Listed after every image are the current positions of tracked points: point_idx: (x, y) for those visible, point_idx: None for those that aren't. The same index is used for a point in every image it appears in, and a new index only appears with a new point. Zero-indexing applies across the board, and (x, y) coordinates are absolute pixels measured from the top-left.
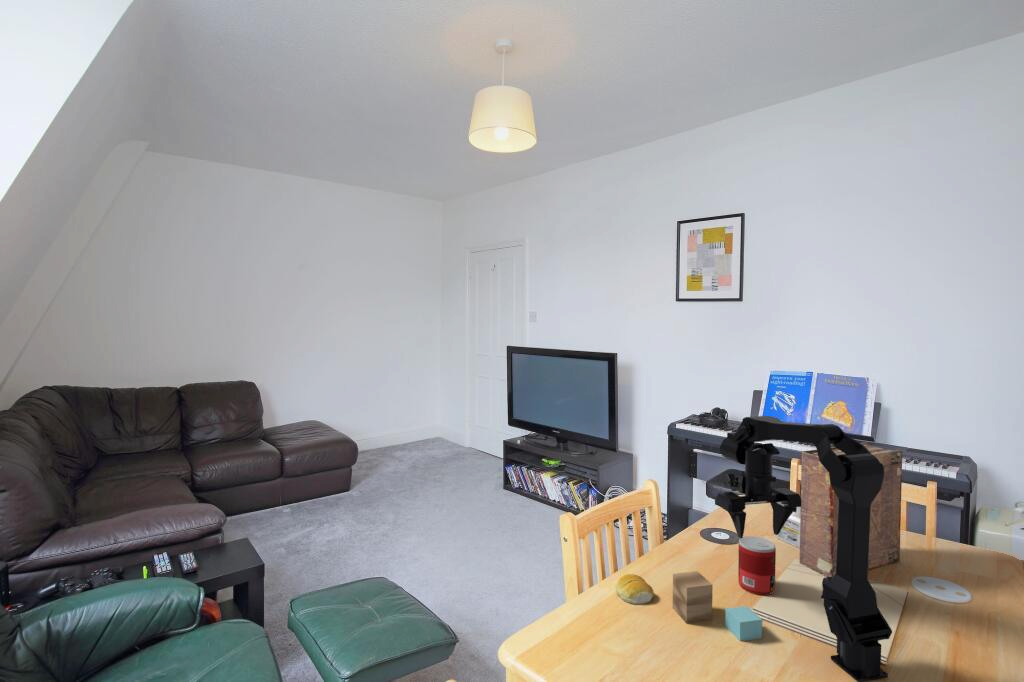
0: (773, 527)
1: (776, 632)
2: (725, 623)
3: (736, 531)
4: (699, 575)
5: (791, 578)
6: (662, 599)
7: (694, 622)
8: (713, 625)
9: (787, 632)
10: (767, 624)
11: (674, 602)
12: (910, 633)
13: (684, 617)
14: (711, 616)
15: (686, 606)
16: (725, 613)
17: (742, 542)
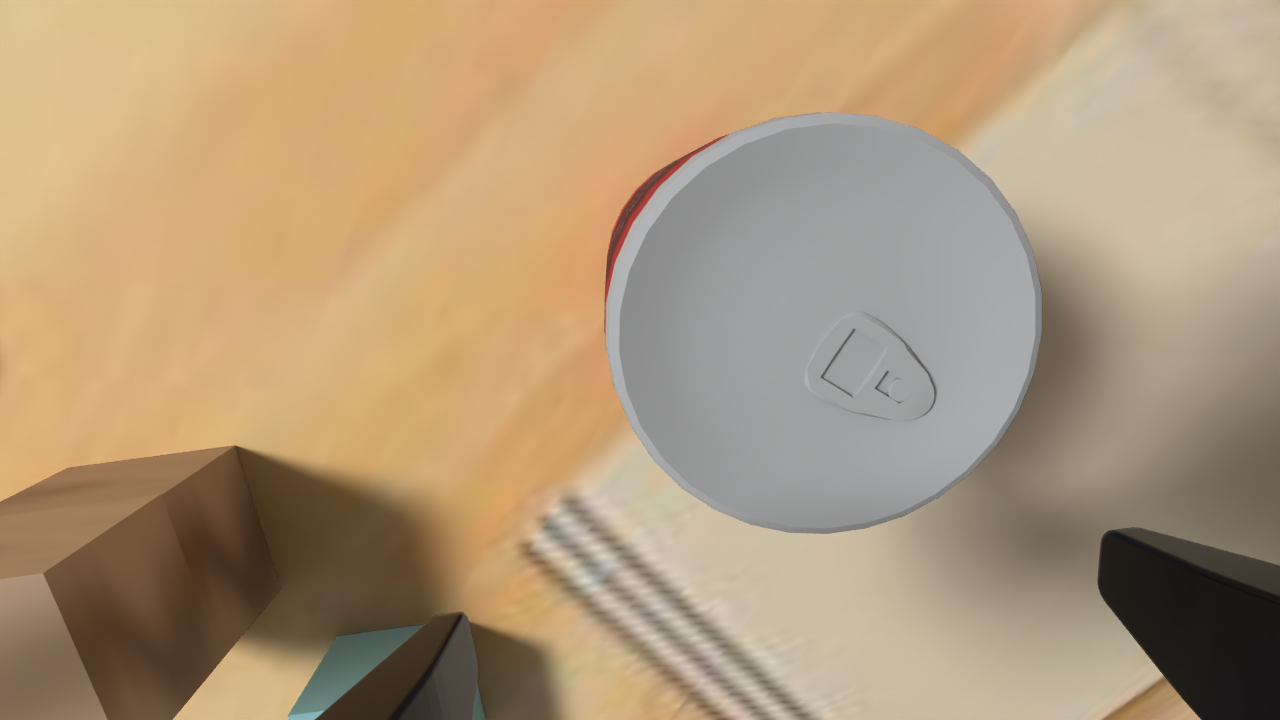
0: (1192, 586)
1: (579, 686)
2: (329, 651)
3: (378, 667)
4: (48, 642)
5: (1040, 170)
6: (11, 373)
7: None
8: (274, 628)
9: (633, 688)
10: (570, 630)
11: None
12: (1190, 708)
13: None
14: (265, 604)
15: None
16: (303, 691)
17: (644, 305)
